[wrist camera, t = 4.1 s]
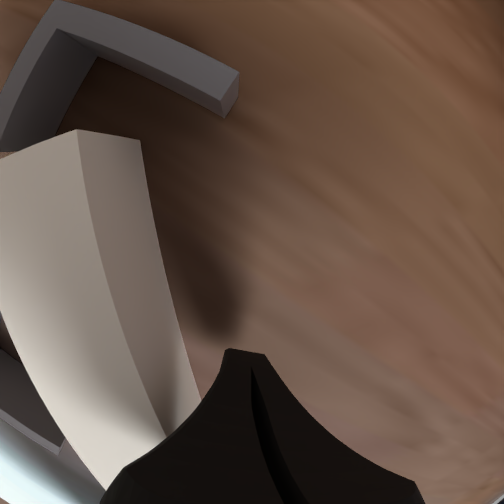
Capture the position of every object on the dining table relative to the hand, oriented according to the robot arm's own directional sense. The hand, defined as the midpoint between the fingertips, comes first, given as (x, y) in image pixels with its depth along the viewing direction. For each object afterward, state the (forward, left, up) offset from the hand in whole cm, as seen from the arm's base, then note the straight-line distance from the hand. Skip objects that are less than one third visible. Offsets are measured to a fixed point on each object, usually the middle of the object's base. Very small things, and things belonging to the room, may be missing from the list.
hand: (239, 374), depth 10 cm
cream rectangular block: (+4, +1, -2) cm, 4 cm away
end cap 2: (+7, -5, -1) cm, 9 cm away
